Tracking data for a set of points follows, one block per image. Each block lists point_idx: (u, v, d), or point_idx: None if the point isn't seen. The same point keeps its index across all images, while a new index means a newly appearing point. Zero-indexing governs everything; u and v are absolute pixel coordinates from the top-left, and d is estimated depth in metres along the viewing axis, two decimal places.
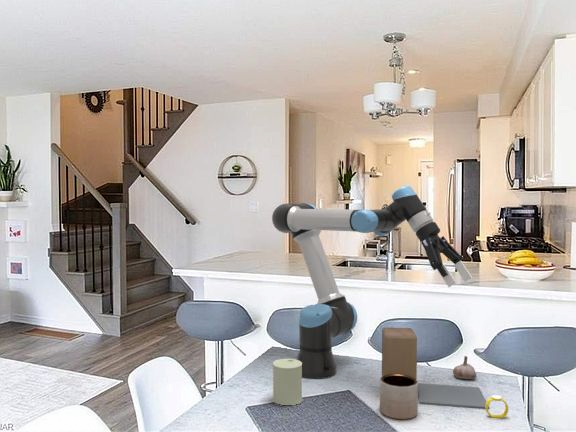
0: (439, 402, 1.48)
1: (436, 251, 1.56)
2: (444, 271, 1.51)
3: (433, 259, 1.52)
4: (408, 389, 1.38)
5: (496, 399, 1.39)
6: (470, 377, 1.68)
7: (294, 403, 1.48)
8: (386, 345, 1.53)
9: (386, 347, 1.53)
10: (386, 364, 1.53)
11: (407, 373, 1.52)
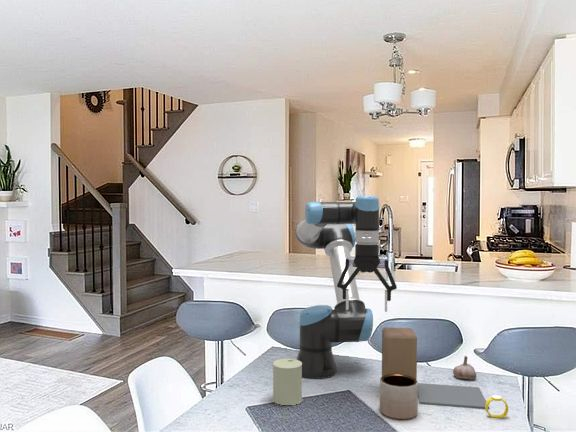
0: (439, 402, 1.48)
1: (352, 274, 1.59)
2: (343, 295, 1.60)
3: (338, 281, 1.60)
4: (408, 389, 1.38)
5: (496, 399, 1.39)
6: (470, 377, 1.68)
7: (294, 403, 1.48)
8: (386, 345, 1.53)
9: (386, 347, 1.53)
10: (386, 364, 1.53)
11: (407, 373, 1.52)
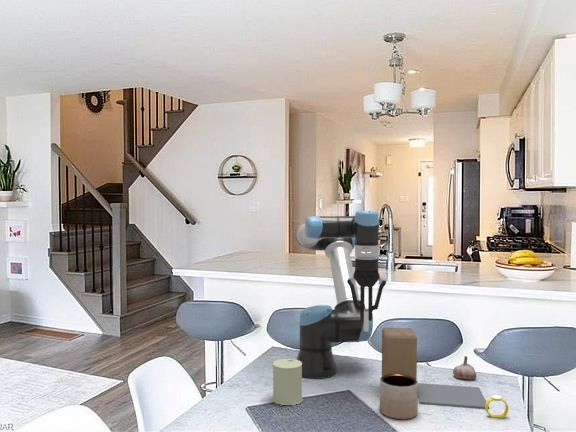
0: (439, 402, 1.48)
1: (360, 292, 1.58)
2: (361, 316, 1.59)
3: (353, 302, 1.59)
4: (408, 389, 1.38)
5: (496, 399, 1.39)
6: (470, 377, 1.68)
7: (294, 403, 1.48)
8: (386, 345, 1.53)
9: (386, 347, 1.53)
10: (386, 364, 1.53)
11: (407, 373, 1.52)
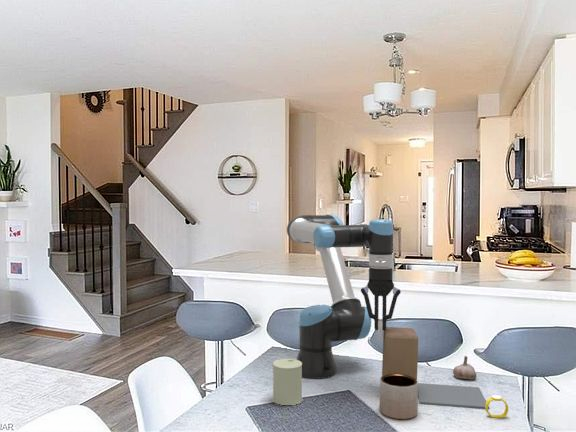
0: (439, 402, 1.48)
1: None
2: (375, 326, 1.58)
3: (368, 312, 1.58)
4: (408, 389, 1.38)
5: (496, 399, 1.39)
6: (470, 377, 1.68)
7: (294, 403, 1.48)
8: (387, 345, 1.53)
9: (387, 347, 1.53)
10: (387, 364, 1.53)
11: (408, 373, 1.52)
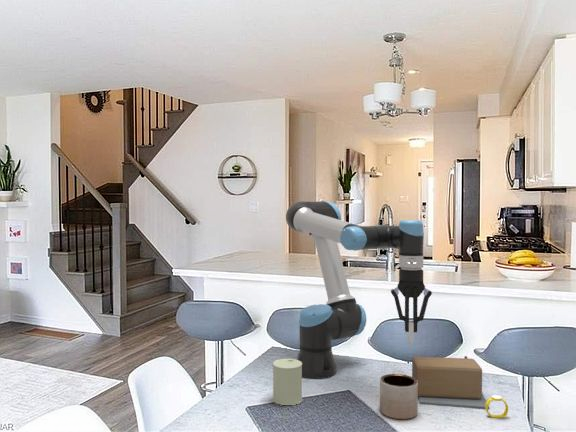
0: (439, 402, 1.48)
1: (405, 303, 1.56)
2: (405, 328, 1.56)
3: (398, 313, 1.57)
4: (408, 389, 1.38)
5: (496, 399, 1.39)
6: None
7: (294, 403, 1.48)
8: (471, 369, 1.50)
9: (469, 369, 1.50)
10: (451, 368, 1.51)
11: (442, 389, 1.51)
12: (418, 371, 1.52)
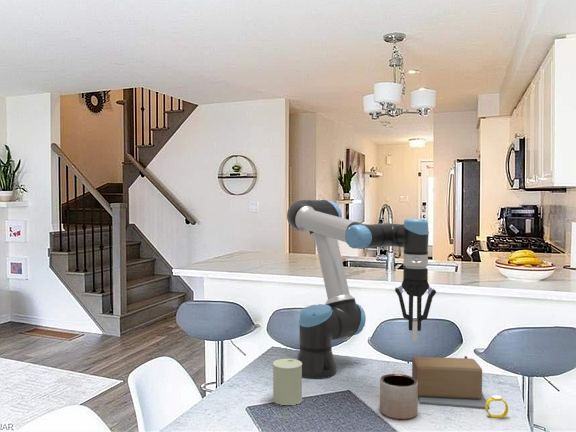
0: (439, 402, 1.48)
1: (409, 302, 1.56)
2: (409, 326, 1.56)
3: (402, 312, 1.57)
4: (408, 389, 1.38)
5: (496, 399, 1.39)
6: None
7: (294, 403, 1.48)
8: (471, 369, 1.50)
9: (469, 369, 1.50)
10: (451, 368, 1.51)
11: (442, 389, 1.51)
12: (418, 371, 1.52)
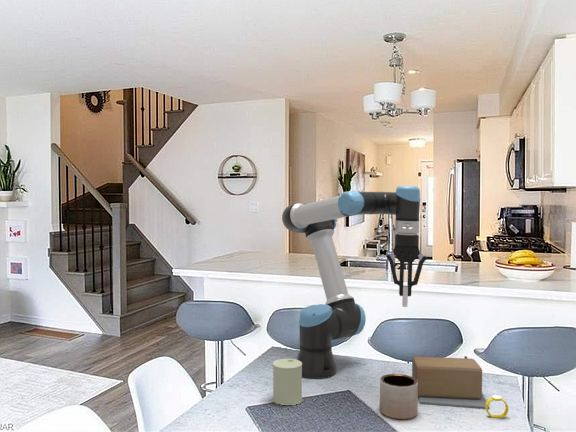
0: (439, 402, 1.48)
1: (400, 268, 1.58)
2: (400, 292, 1.59)
3: (393, 278, 1.59)
4: (408, 389, 1.38)
5: (496, 399, 1.39)
6: None
7: (294, 403, 1.48)
8: (471, 369, 1.50)
9: (469, 369, 1.50)
10: (451, 368, 1.51)
11: (442, 389, 1.51)
12: (418, 371, 1.52)
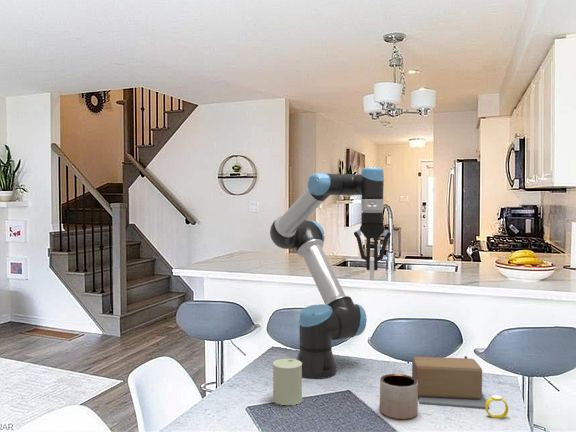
0: (439, 402, 1.48)
1: None
2: (367, 266, 1.70)
3: (360, 253, 1.71)
4: (408, 389, 1.38)
5: (496, 399, 1.39)
6: None
7: (294, 403, 1.48)
8: (471, 369, 1.50)
9: (469, 369, 1.50)
10: (451, 368, 1.51)
11: (442, 389, 1.51)
12: (418, 371, 1.52)
